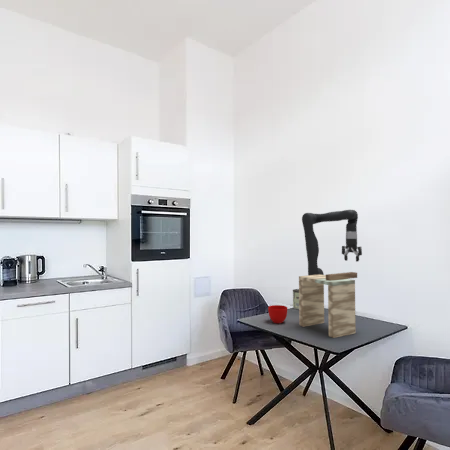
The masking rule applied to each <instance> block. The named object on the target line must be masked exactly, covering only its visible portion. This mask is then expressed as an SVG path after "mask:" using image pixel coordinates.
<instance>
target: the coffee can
mask: <svg viewBox="0 0 450 450" xmlns="http://www.w3.org/2000/svg"><path fill="white" fill-rule="evenodd" d="M292 308H293V309H294V310H299V288H296V289H294V288H293V289H292Z"/></svg>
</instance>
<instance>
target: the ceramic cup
mask: <svg viewBox="0 0 450 450" xmlns="http://www.w3.org/2000/svg"><path fill="white" fill-rule="evenodd" d="M267 308H268V309H267V310H268V316H269V318H270V320H271V321H272V323H274V324H283V323H284V322H285V320H286V318H287V316H288V307H287V306H286V305H279V304H274V305H272V304H271V305H268V307H267Z"/></svg>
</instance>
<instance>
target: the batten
mask: <svg viewBox="0 0 450 450" xmlns="http://www.w3.org/2000/svg"><path fill="white" fill-rule="evenodd" d="M325 275H326V280H330V281H332V280H341V279H357V278H358V272H356V271H355V272H353V271H348V272H338V273H330V274H329V273H328V274H325Z"/></svg>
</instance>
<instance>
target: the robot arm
mask: <svg viewBox="0 0 450 450" xmlns="http://www.w3.org/2000/svg"><path fill="white" fill-rule="evenodd" d="M358 215H359V214H358V212H357V210H355V209H345V210H337V211H329V212H325V213H312V212H305V213H303V215H302V217H301V221H302V226H303V231H304V232H303V233H304V240H305V251H306V258H307V276H308V275H318V274H320V275H325V274H324V270H322V268H320V267H319V265H318V259H319V253H320V248H319V241H318V239H317V236H316V234H315V230H314V225H316V224H319V223H323V222H324V223H325V222H326V223H327V222H328V223H329V222H340V221H346V220H347V223H346V225H345V245H342V246H341V255H343V256H344V261H348V256H349V255H348V254H349V253H352V254H354V255H355V262H356V263H357V262H359V261H360V256H362V255H363V252H362V251H363V250H362V246H358V227H357V225H358V219H359V216H358Z"/></svg>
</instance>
